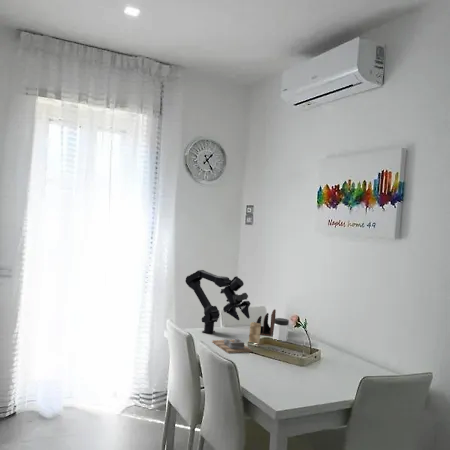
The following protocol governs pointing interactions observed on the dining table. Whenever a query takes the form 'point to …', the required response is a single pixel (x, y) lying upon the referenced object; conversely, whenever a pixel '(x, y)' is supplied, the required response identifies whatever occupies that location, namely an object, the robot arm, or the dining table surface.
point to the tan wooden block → (254, 332)
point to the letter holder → (265, 328)
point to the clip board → (232, 345)
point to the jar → (281, 329)
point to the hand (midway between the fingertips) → (244, 319)
